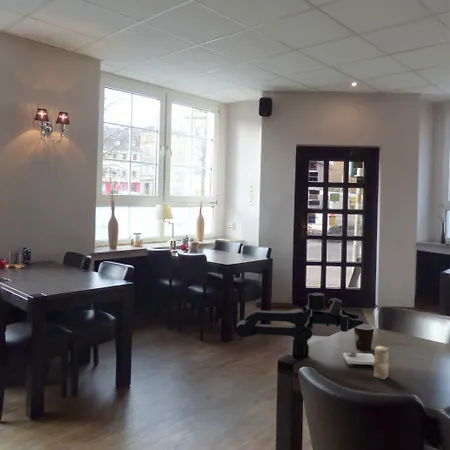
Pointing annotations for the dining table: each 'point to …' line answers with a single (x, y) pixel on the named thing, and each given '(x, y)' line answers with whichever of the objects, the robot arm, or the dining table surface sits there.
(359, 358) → the white square board
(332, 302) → the robot arm
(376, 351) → the beech post
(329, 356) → the dining table surface
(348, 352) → the silver metal dome
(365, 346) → the coffee mug
